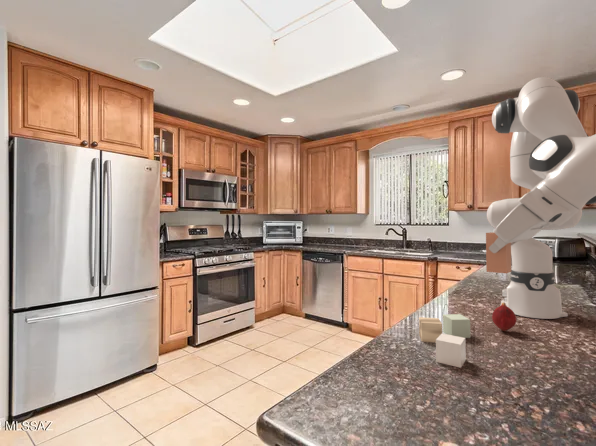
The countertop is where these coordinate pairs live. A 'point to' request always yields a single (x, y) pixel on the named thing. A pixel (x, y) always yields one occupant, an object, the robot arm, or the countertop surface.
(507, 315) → the onion
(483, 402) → the countertop surface
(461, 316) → the sage block
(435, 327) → the maple block
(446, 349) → the ceramic block
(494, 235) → the terracotta post
